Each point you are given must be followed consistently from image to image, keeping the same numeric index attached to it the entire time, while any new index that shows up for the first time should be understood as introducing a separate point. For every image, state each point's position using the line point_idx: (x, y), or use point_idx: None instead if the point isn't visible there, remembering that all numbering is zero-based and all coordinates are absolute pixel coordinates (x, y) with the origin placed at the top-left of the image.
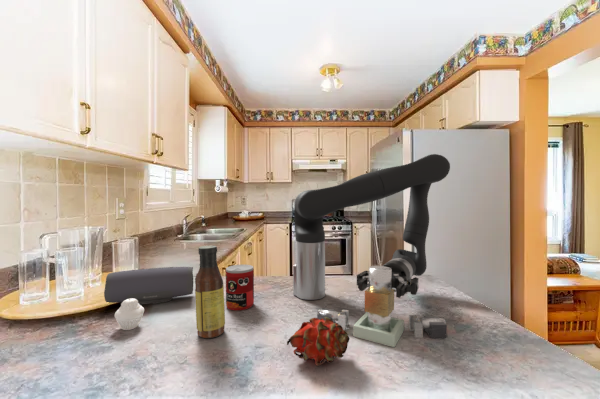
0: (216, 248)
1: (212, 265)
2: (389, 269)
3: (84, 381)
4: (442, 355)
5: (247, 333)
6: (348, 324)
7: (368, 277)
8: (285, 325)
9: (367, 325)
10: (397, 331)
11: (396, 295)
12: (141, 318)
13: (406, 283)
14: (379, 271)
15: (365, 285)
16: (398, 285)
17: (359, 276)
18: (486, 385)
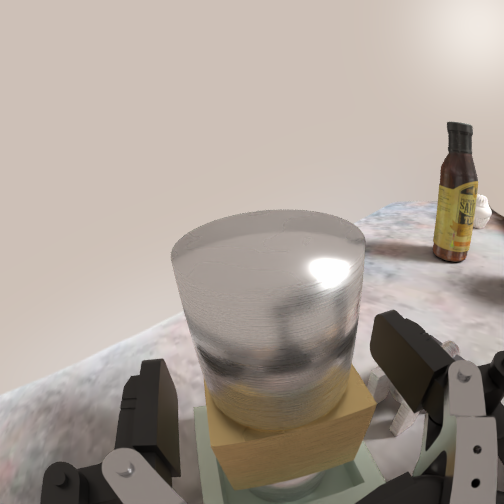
0: (458, 125)
1: (450, 149)
2: (187, 252)
3: (390, 212)
4: (87, 450)
5: (437, 277)
6: (392, 431)
7: (448, 387)
8: (452, 320)
9: (342, 470)
10: (196, 440)
11: (172, 384)
12: (480, 221)
13: (107, 458)
14: (233, 219)
15: (402, 376)
16: (157, 396)
17: (493, 361)
18: (39, 390)
